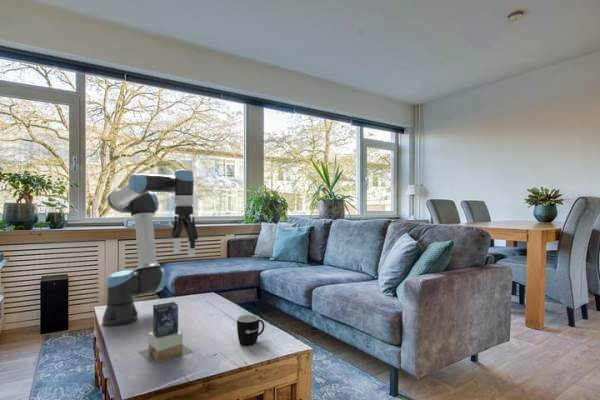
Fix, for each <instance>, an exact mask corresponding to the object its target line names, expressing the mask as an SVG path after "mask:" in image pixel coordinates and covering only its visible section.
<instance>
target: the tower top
mask: <svg viewBox="0 0 600 400" xmlns="http://www.w3.org/2000/svg"><path fill="white" fill-rule="evenodd" d="M149 344H150V345H151V346H152V347H153V348H155V349H156V350H157V351H161V350H164V349H167V348H170V347H174V346H177V345H180V344H183V332H182V331H180V330H178V333H174V334H169V335H164V336H160V337H156V336H155V335H154V333H153V331H150V332H148V345H149Z"/></svg>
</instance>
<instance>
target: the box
mask: <svg viewBox="0 0 600 400" xmlns="http://www.w3.org/2000/svg"><path fill="white" fill-rule="evenodd" d="M178 331H179V304H177V303H176V302H175V301H171V302H165V303H158V304H153V305H152V332H153V333H154V335H155V336H156V337H160V336H164V335H169V334H174V333H178Z"/></svg>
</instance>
